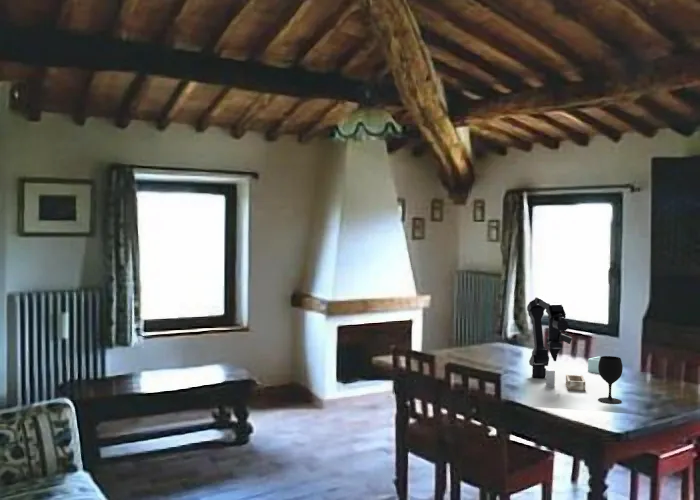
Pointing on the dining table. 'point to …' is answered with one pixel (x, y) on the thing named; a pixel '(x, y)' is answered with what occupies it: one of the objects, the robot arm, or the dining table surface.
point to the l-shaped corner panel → (593, 364)
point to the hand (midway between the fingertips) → (554, 359)
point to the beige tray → (575, 382)
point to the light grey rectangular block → (550, 378)
